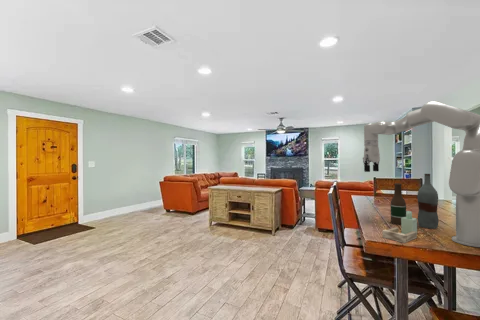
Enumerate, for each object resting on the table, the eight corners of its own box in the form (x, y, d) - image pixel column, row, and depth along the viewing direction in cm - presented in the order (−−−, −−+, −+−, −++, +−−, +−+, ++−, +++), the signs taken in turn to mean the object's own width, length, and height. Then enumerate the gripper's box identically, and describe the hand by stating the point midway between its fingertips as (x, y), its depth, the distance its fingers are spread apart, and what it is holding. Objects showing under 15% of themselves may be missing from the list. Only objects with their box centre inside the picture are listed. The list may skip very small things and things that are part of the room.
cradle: (416, 237, 113) (416, 230, 113) (404, 242, 106) (404, 235, 106) (395, 232, 121) (395, 226, 121) (382, 237, 114) (382, 230, 114)
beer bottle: (409, 225, 133) (409, 184, 133) (396, 225, 133) (395, 184, 133) (400, 222, 141) (400, 182, 141) (387, 222, 141) (387, 182, 141)
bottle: (417, 234, 118) (416, 211, 118) (412, 236, 115) (412, 213, 115) (406, 231, 122) (405, 210, 122) (401, 233, 119) (401, 211, 119)
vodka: (421, 228, 128) (420, 174, 128) (414, 223, 137) (414, 173, 137) (442, 229, 125) (441, 174, 125) (434, 225, 134) (433, 173, 134)
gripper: (369, 142, 135) (370, 172, 135) (384, 143, 144) (385, 171, 144) (357, 143, 141) (357, 171, 141) (372, 144, 150) (372, 170, 150)
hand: (371, 171), depth 143 cm, fingers open, 9 cm apart
